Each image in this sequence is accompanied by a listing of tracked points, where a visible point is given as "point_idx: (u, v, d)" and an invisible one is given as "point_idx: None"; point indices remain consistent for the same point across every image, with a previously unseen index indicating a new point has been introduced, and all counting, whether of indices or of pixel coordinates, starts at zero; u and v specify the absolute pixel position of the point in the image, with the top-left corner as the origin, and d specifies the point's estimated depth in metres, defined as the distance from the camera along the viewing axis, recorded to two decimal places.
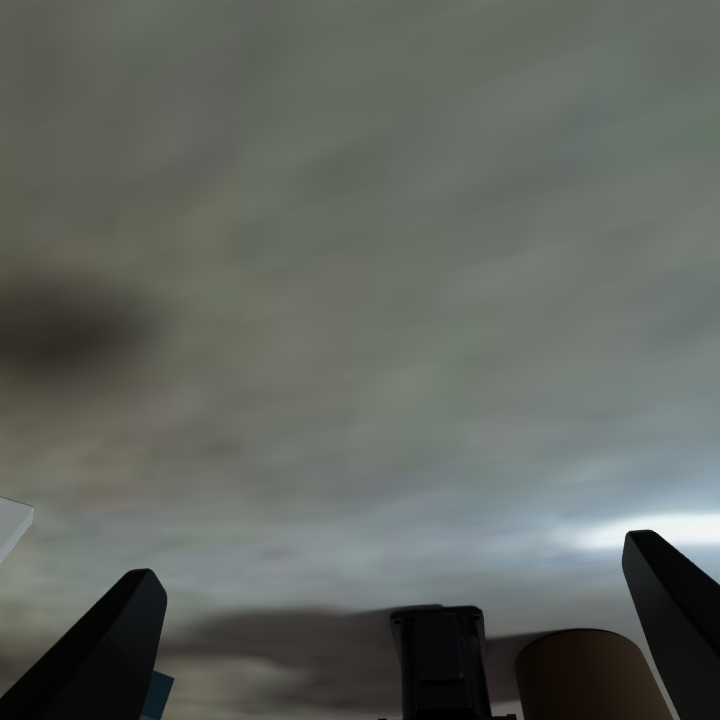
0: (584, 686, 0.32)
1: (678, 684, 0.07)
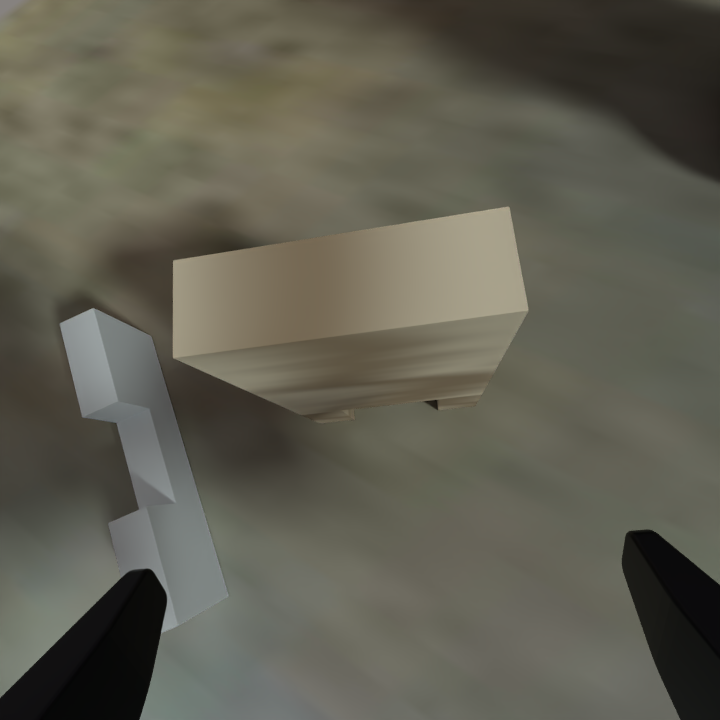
0: None
1: (678, 684, 0.07)
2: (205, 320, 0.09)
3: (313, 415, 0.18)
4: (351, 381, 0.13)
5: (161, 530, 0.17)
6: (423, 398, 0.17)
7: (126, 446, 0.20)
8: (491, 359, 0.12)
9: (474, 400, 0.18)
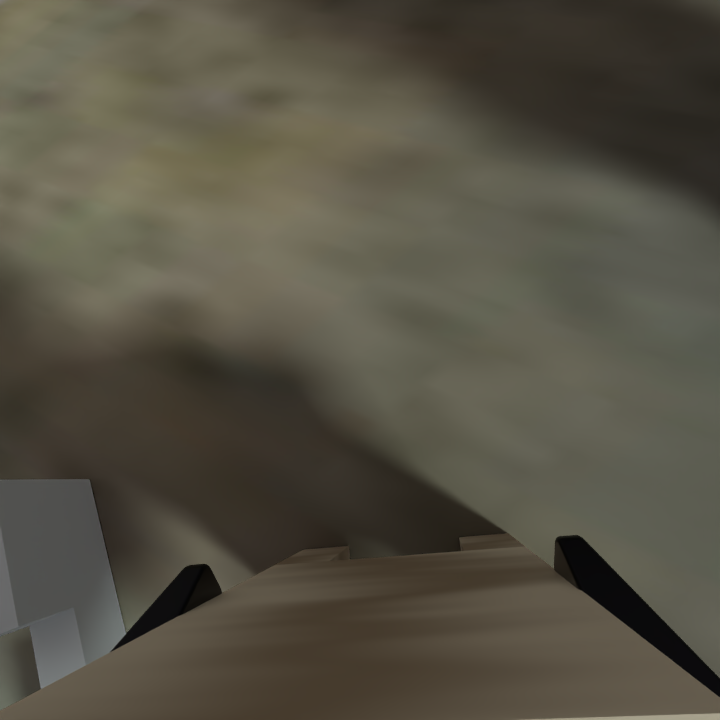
0: None
1: None
2: None
3: None
4: None
5: None
6: None
7: (41, 662, 0.14)
8: None
9: None
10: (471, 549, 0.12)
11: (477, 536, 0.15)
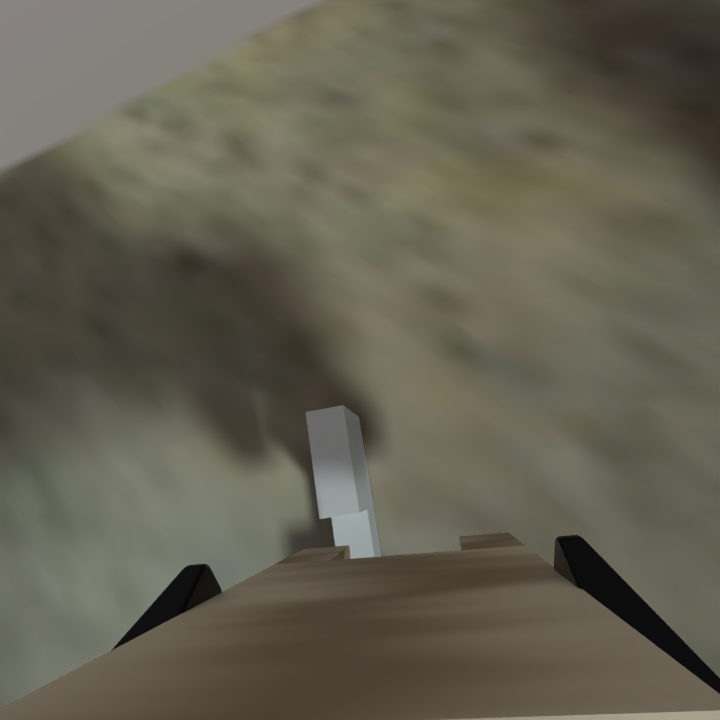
0: None
1: None
2: None
3: None
4: None
5: None
6: None
7: (338, 542, 0.19)
8: None
9: None
10: (471, 548, 0.12)
11: (477, 535, 0.15)
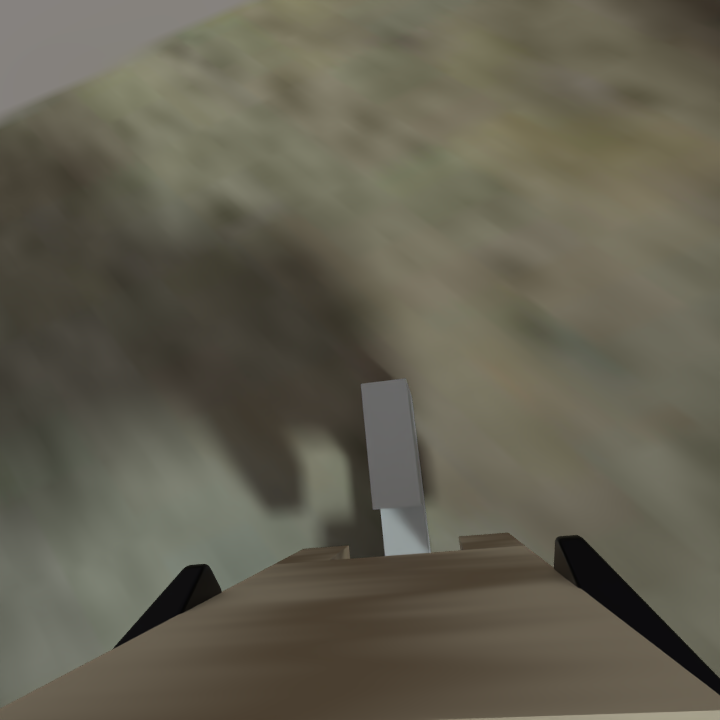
0: None
1: None
2: None
3: None
4: None
5: None
6: None
7: (388, 538, 0.17)
8: None
9: None
10: (471, 548, 0.12)
11: (477, 535, 0.15)
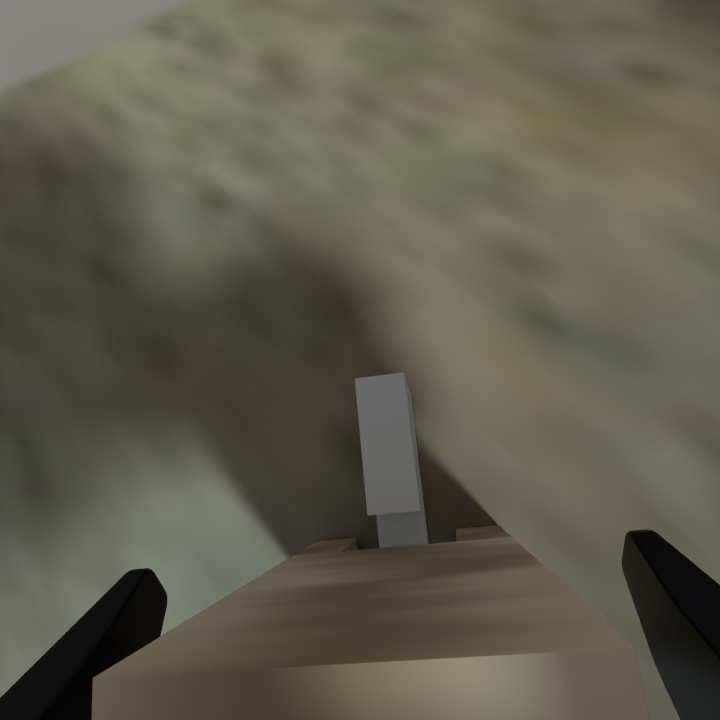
0: None
1: (678, 684, 0.07)
2: None
3: None
4: None
5: None
6: None
7: (384, 546, 0.15)
8: None
9: None
10: (465, 540, 0.14)
11: (471, 528, 0.17)
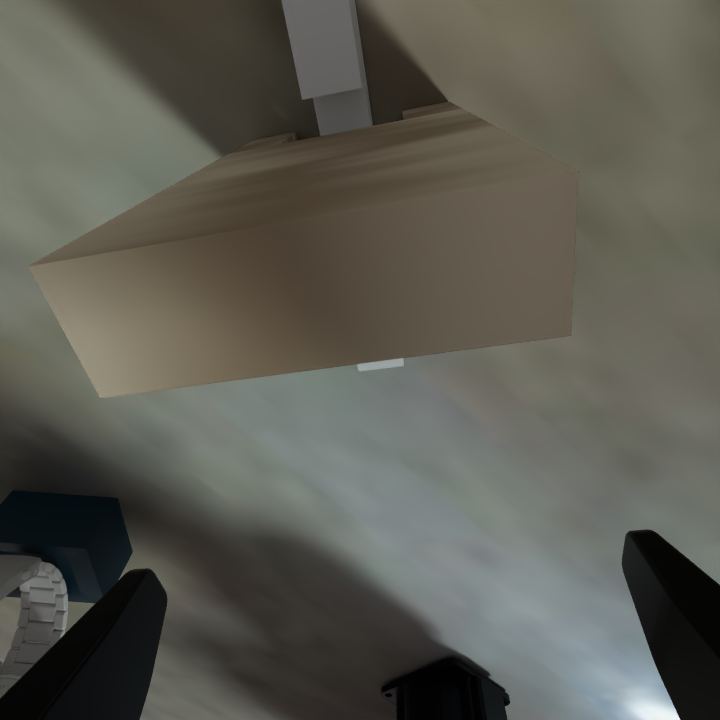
0: None
1: (678, 684, 0.07)
2: (124, 353, 0.07)
3: None
4: None
5: None
6: None
7: None
8: None
9: None
10: (412, 117, 0.13)
11: (419, 107, 0.15)
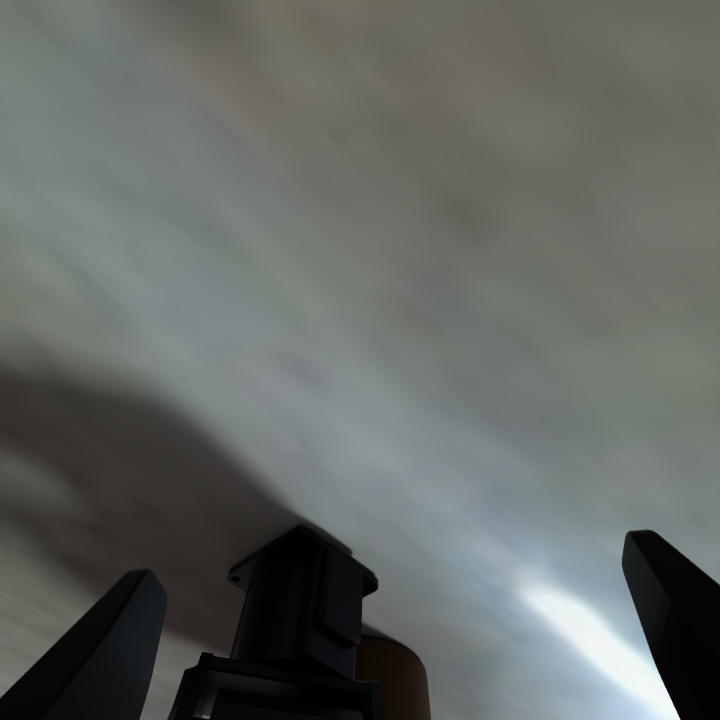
0: (402, 707, 0.29)
1: (678, 684, 0.07)
2: None
3: None
4: None
5: None
6: None
7: None
8: None
9: None
10: None
11: None
